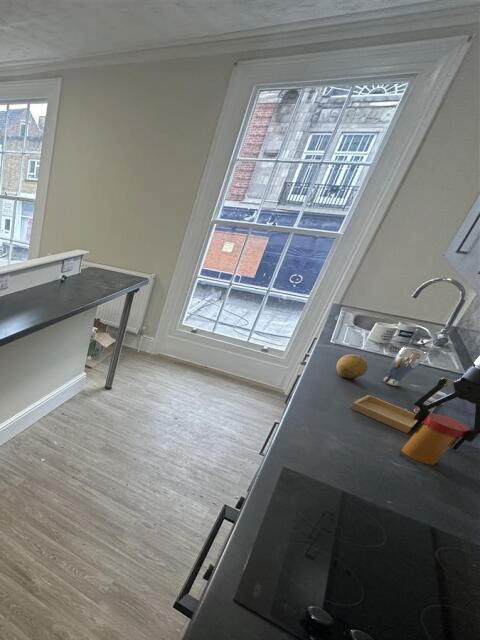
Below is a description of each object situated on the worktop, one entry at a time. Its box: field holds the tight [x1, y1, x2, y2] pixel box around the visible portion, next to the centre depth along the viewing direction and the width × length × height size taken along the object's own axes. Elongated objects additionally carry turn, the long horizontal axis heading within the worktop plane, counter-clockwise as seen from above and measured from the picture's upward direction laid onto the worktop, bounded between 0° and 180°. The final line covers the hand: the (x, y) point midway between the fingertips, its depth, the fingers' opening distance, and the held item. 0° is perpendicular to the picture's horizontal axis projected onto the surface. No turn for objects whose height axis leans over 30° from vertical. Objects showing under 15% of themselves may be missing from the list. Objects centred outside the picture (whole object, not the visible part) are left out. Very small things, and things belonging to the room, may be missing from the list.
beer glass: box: [380, 346, 426, 387], centre depth 158 cm, size 7×7×15 cm
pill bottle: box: [413, 390, 448, 414], centre depth 140 cm, size 5×5×9 cm
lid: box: [422, 413, 470, 438], centre depth 113 cm, size 8×8×2 cm
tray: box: [349, 394, 418, 434], centre depth 138 cm, size 16×14×2 cm
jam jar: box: [401, 422, 461, 466], centre depth 116 cm, size 8×8×12 cm
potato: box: [335, 353, 369, 379], centre depth 162 cm, size 10×13×9 cm
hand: (433, 438), depth 115 cm, fingers closed on lid, 8 cm apart
